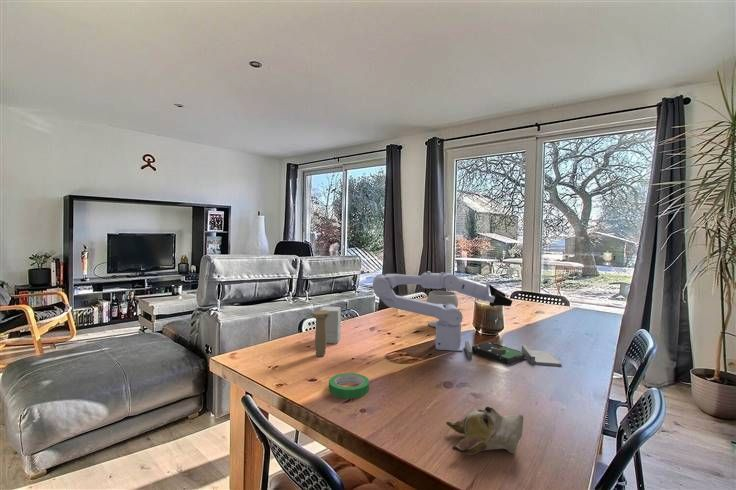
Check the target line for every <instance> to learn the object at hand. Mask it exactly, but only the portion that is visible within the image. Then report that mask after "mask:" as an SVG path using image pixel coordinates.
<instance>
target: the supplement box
mask: <svg viewBox="0 0 736 490" xmlns="http://www.w3.org/2000/svg"><path fill="white" fill-rule="evenodd" d="M320 310H327V311H330V315H329V316H328V317H327V318H326V337H327V338H326V339H327V342H326V344H336V343H337V344H338V343H339V342H340V340H341V338H342V337H341V336H342V335H341V334H342V333H341V332H342V331H341V329H342V326H341V325H342V324H341V319H342V318H341V316H342V314H341V313H342V312H341V310H342V308H341V307H340V306H323V307H322V308H321V309H320Z"/></svg>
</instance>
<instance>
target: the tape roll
mask: <svg viewBox="0 0 736 490" xmlns="http://www.w3.org/2000/svg"><path fill="white" fill-rule="evenodd" d="M343 384H356V386H344V385H343ZM328 391H329V394H330V395H332V396H333V397H336V398H338V399H339V398H341V399H346V400H347V399H348V400H350V399H351V400H352V399H359V398H361V397H364V396H365V395H367V394H369V391H370V379H369V378H368V377H367V376H365V375H364V374H361V373H356V372H343V373H338V374H335V375H333V376H331V377H330V378H329V380H328Z"/></svg>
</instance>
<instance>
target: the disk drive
mask: <svg viewBox="0 0 736 490" xmlns="http://www.w3.org/2000/svg"><path fill="white" fill-rule="evenodd" d="M471 350H472V354H475V355H478V356H481V357H484V358H488V359H490V360H493V361H496V362H497V363H498V362H499V363H500V364H504V365H506V366H510V365H512V364H516V363H518V362H521V361H523V360H525V359H526V357H525V355H524V353H523V352H522V351H519V350H517V349H514V348H510V347H508V346H507V347H506V346H505V345H500V344H498V343H495V342H493V341H492V342H491V341H485V342H483V343H478V345H476V344H475V345H472V346H471Z"/></svg>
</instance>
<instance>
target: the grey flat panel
mask: <svg viewBox="0 0 736 490" xmlns="http://www.w3.org/2000/svg"><path fill="white" fill-rule="evenodd" d="M464 349H465V352H466V356H467V359H468V360H473V352H472V346H471V345H470V342H469V341H468V340H465V341H464ZM521 352H523V353H524V355H525V359H527V361H528V362H529V363H530V365H539V366H541V365H543V366H555V367H562V365H563V364H562V363H561V362H560V360H559V359H558V358H556V356H555V355H553V354H552V352H551V351H548V350H537V349H536V350H535V349H529V348H528V346H527V345H526V344H522V345H521Z"/></svg>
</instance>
